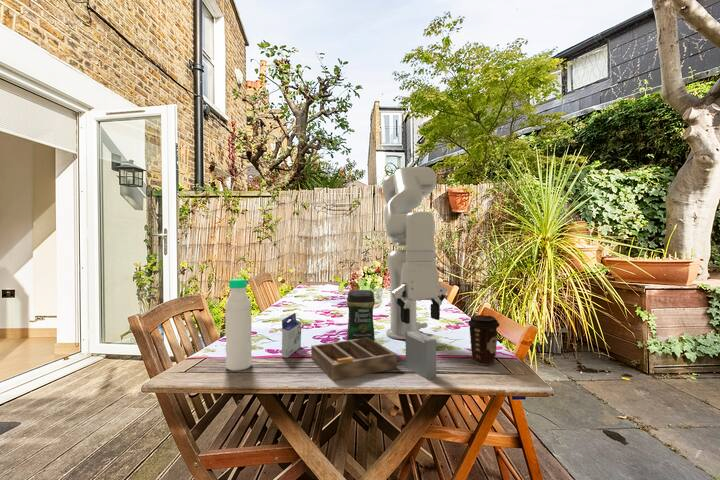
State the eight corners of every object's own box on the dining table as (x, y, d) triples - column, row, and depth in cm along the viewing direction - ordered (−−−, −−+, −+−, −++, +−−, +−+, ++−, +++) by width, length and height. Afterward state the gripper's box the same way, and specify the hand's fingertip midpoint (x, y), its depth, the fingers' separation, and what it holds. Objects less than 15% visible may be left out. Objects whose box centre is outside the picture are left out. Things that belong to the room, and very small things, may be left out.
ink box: (288, 358, 110) (288, 320, 110) (281, 357, 110) (280, 320, 110) (302, 346, 121) (301, 312, 121) (295, 346, 122) (295, 312, 121)
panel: (414, 364, 104) (414, 330, 104) (436, 377, 95) (436, 339, 95) (405, 366, 102) (405, 331, 102) (426, 379, 93) (426, 341, 93)
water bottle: (237, 373, 98) (236, 281, 98) (220, 368, 102) (219, 280, 101) (257, 365, 104) (256, 278, 104) (240, 360, 108) (239, 277, 107)
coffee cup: (499, 358, 108) (499, 315, 108) (500, 368, 101) (500, 321, 100) (468, 355, 111) (468, 313, 111) (467, 364, 103) (467, 319, 103)
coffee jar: (347, 348, 119) (346, 292, 118) (346, 341, 127) (345, 288, 126) (376, 347, 119) (376, 291, 119) (373, 340, 127) (373, 288, 127)
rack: (367, 349, 117) (367, 334, 117) (396, 368, 101) (396, 350, 101) (311, 358, 109) (311, 342, 109) (333, 380, 93) (333, 361, 93)
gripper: (437, 256, 105) (437, 315, 105) (385, 257, 97) (385, 321, 97) (454, 257, 98) (455, 320, 98) (400, 259, 91) (400, 327, 91)
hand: (420, 320), depth 98 cm, fingers open, 9 cm apart
